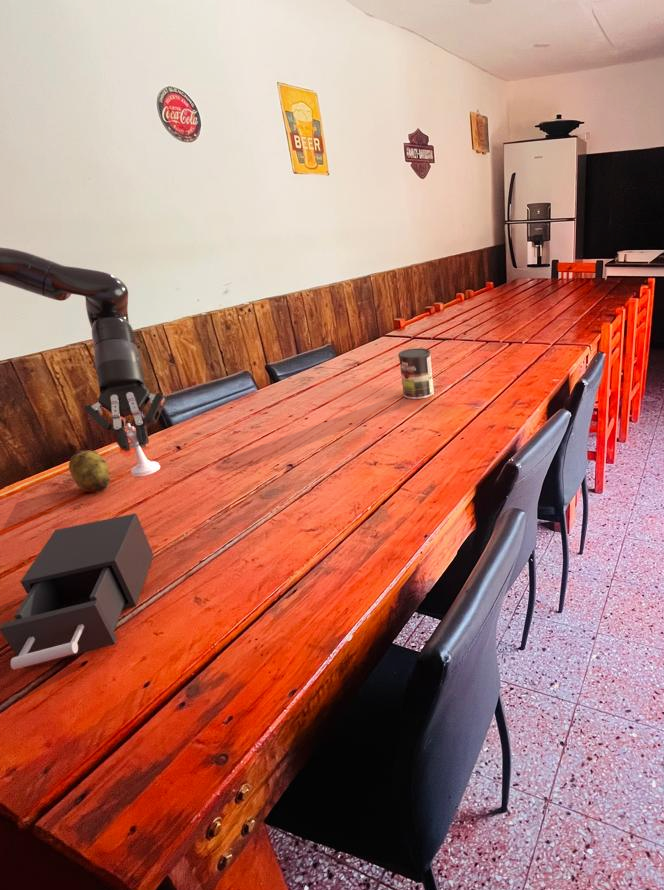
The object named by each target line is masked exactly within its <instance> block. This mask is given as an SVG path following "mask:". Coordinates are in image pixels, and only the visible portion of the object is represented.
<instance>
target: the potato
mask: <svg viewBox="0 0 664 890" xmlns="http://www.w3.org/2000/svg"><path fill="white" fill-rule="evenodd" d="M68 470H69V473H70V475H71V477H72V479H73V480H74V483H75V484H76V486H77V487H79V489H80V490H82V491H84V492H88V493H99V492H103V491H104V490H106V489H107V488H108V487H109V486H110V484H111V477H110V476H111V475H110V474H111V473H110V469H109V466H108V463H107V461H106V459H105V458H104V457H102V455H100V453H98V452H97V450H89V449H85V450H80V451H78V452H76V453H74V454H73V455H72V456H71V457H70V459H69V463H68Z"/></svg>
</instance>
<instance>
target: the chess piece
mask: <svg viewBox="0 0 664 890" xmlns="http://www.w3.org/2000/svg"><path fill="white" fill-rule="evenodd" d="M125 430H128V432H126V436H127V437H128V441H129V442H130V443H129V446H130V449H134V452H135V456H136V460H137V461H136V462H137V463H136V465H134V466H133V467H132V468H131V469H130V474H131V476H132V477H144V476H148V475H151V474H154V473H157V471H159V470H160V469H161V465H160V463H159V462H157V461H154V460H152V461H151V460H149V459H148V458H147V457H146V455H145V453H144V451H143V448H141V447H140V446H139V444H138V439H137V434H136V428H135V426H134V425H131V423H130V422H128V423H125Z"/></svg>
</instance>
